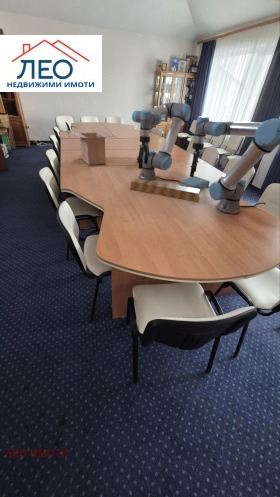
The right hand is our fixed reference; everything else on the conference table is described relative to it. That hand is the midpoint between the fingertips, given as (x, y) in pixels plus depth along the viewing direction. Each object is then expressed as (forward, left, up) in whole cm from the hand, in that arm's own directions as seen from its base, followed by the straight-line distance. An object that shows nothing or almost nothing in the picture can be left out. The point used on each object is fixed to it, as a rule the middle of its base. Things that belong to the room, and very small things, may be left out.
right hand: (192, 174), depth 162 cm
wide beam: (+18, -8, -18) cm, 27 cm away
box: (+79, -92, -18) cm, 122 cm away
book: (-12, -23, -18) cm, 32 cm away
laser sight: (+21, -90, -18) cm, 94 cm away
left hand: (+35, -16, 0) cm, 39 cm away
